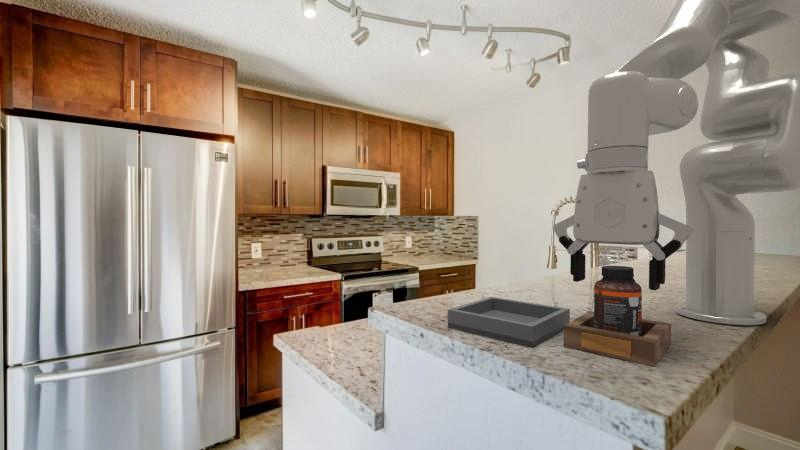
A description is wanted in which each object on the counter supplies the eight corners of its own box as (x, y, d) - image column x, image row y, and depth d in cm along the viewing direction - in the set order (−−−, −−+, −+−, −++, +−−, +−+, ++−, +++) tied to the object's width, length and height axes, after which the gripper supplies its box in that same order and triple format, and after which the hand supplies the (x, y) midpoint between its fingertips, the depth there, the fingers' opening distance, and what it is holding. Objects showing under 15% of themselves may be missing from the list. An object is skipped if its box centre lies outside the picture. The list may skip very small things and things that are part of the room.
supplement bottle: (649, 354, 51) (649, 270, 51) (601, 351, 52) (601, 269, 52) (632, 339, 57) (632, 264, 57) (589, 337, 58) (589, 264, 58)
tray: (491, 311, 75) (491, 296, 75) (569, 326, 64) (569, 308, 64) (447, 327, 65) (447, 309, 65) (532, 347, 54) (532, 326, 54)
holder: (589, 329, 63) (589, 311, 63) (671, 344, 55) (671, 323, 55) (562, 346, 54) (562, 325, 54) (653, 367, 47) (653, 342, 47)
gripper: (545, 166, 58) (543, 280, 58) (688, 153, 45) (685, 297, 46) (564, 172, 63) (563, 275, 63) (696, 161, 51) (694, 289, 51)
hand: (614, 284), depth 54 cm, fingers open, 9 cm apart
